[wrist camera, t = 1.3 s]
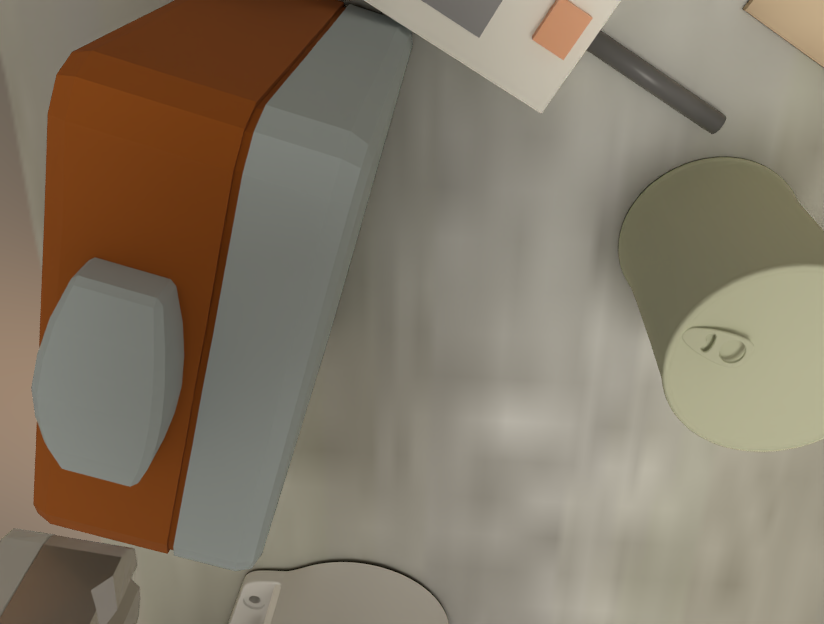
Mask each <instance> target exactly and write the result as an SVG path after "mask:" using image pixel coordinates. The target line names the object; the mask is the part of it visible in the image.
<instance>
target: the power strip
mask: <svg viewBox="0 0 824 624" xmlns="http://www.w3.org/2000/svg"><path fill="white" fill-rule="evenodd" d="M364 1H365V2H367V3H369V4H370V5H372V6H373V7H375V8H376V9H378V10H379V11H381V12H383V13H384V14H386V15H387V16H389V17H390V18H392V19H394V20H395V21H397V22H398V23H400V24H401V25H403V26H405V27H406V28H408V29H409V30H411V31H412V32H414V33H415V34H417V35H419V36H420V37H422V38H423V39H425V40H426V41H428V42H430V43H431V44H433V45H434V46H436V47H437V48H439V49H441V50H442V51H444V52H445V53H447V54H448V55H450V56H451V57H453V58H455V59H456V60H458V61H459V62H461V63H462V64H464V65H466V66H467V67H469V68H470V69H472V70H473V71H475V72H477V73H478V74H480V75H481V76H483V77H484V78H486V79H487V80H489V81H491V82H492V83H494V84H495V85H497V86H498V87H500V88H502V89H503V90H505V91H506V92H508V93H509V94H511V95H513V96H514V97H516V98H517V99H519V100H520V101H522V102H523V103H525V104H527V105H528V106H530V107H531V108H533V109H534V110H536V111H538V112H539V113H541V114H542V112H543V111H544V109H545V108H546V107H547V105H548V104H549V102H550V101H551V99H552V98H553V97H554V95H555V94H556V92H557V91H558V90H559V88H560V87H561V85H562V84H563V82H564V81H565V80H566V78H567V77H568V75H569V74H570V72H571V71H572V70H573V68H574V67H575V65H576V64H577V63H578V61H579V60H580V58H581V57H582V55H583V54H584V53H585V51H586V50H587V51H589V52H590V53H592V54H593V55H595V56H596V57H598V58H599V59H601V60H602V61H604V62H605V63H607V64H608V65H610V66H611V67H613V68H614V69H616V70H617V71H619V72H620V73H621V74H623V75H624V76H626V77H627V78H629V79H630V80H632V81H633V82H635V83H636V84H638V85H639V86H641V87H642V88H644V89H645V90H647V91H648V92H650V93H651V94H653V95H654V96H656V97H657V98H659V99H660V100H662V101H663V102H665V103H666V104H668V105H669V106H671V107H672V108H674V109H675V110H677V111H678V112H680V113H681V114H683V115H684V116H686V117H687V118H689V119H690V120H692V121H693V122H695V123H696V124H698V125H699V126H701V127H702V128H703V129H705V130H706V131H708V132H709V133H711V134H714V133H716V132H717V131H718V130H720V128H721V127H722V126H723V124H724V123H725V120H726V116H725V115H723V114H722V113H720V112H719V111H718V110H716V109H715V108H713V107H712V106H710V105H709V104H707V103H706V102H704V101H703V100H701V99H700V98H698V97H697V96H695V95H694V94H693V93H691V92H690V91H688V90H687V89H685V88H684V87H682V86H681V85H679V84H678V83H676V82H675V81H673V80H672V79H670V78H669V77H668V76H666V75H665V74H663V73H662V72H660V71H659V70H657V69H656V68H654V67H653V66H651V65H650V64H648V63H647V62H646V61H644V60H643V59H641V58H640V57H638V56H637V55H635V54H634V53H632V52H631V51H629V50H628V49H626V48H625V47H623V46H622V45H621V44H619V43H618V42H616V41H615V40H613V39H612V38H610V37H609V36H607V35H606V34H604V33H603V32H601V31H600V30H601V29H602V27H603V26H604V24H605V23H606V21H607V20H608V19H609V17H610V16H611V14H612V13H613V12H614V10H615V9H616V7H617V6H618V4H619V3H620V2H621V0H364Z"/></svg>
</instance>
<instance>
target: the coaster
mask: <svg viewBox="0 0 824 624" xmlns="http://www.w3.org/2000/svg"><path fill="white" fill-rule="evenodd" d="M743 10H745V11H746V12H748V13H749V14H750V15H752V16H753V17H754V18H756V19H757V20H759V21H760V22H761V23H763V24H764V25H766V26H767V27H768V28H770V29H771V30H772V31H774V32H775V33H777V34H778V35H779V36H781V37H782V38H783V39H785V40H786V41H788V42H789V43H790V44H792V45H793V46H795V47H796V48H797V49H799V50H800V51H801V52H803V53H804V54H806V55H807V56H808V57H810V58H811V59H813V60H814V61H815V62H817V63H818V64H819V65H821V66H822V67H824V0H749V1H748V3H747V4H746V5H745V6H744V8H743Z"/></svg>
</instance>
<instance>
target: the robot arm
mask: <svg viewBox="0 0 824 624" xmlns="http://www.w3.org/2000/svg"><path fill="white" fill-rule="evenodd" d="M136 567H137V560H136V554H135V549H134V548H128V547H122V546H116V545H110V544H104V543H99V542H93V541H87V540H81V539H75V538H69V537H63V536H57V535H54V534H47V533H41V532H34V531H27V530H21V529H13V530H11V531H10V532H9V533H8V534H7V535H6V536H4V537H3V538H2V539H1V540H0V624H136V623H137V620H138V616H139V607H140V589H139V586H138V585H137V584H136V583H135V582H134V581H133V580H132V579H131V578H132V576H133V573H134V571H135V569H136ZM228 624H449V622H448V619H447V616H446V613H445V611H444V609H443V608H442V606H441V605H440V603H439V602H438V601H437V599H436V598H435V597H434V596H433V595H432V594H431V593H430V592H429V591H427V590H426V589H425V588H424V587H422V586H421V585H419V584H418V583H416V582H415V581H413V580H411V579H410V578H408V577H406V576H404V575H401V574H399V573H397V572H394V571H391V570H388V569H385V568H382V567H378V566H374V565H369V564H363V563H354V562H331V563H322V564H316V565H312V566H308V567H304V568H301V569H297V570H292V571H253V572H250V573H248V574H247V575H246V576H245V578H244V580H243V583H242V586H241V589H240V591H239V594H238V597H237V600H236V602H235V605H234V608H233V611H232V614H231V616H230V619H229V622H228Z"/></svg>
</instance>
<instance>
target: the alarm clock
mask: <svg viewBox="0 0 824 624" xmlns="http://www.w3.org/2000/svg"><path fill="white" fill-rule="evenodd" d="M412 45H413V43H412V31H411V30H409V29H408V28H406V27H405V26H403V25H401V24H400V23H398V22H397V21H395V20H394V19H392V18H390V17H387V16H384V15H381V14H378V13H375V12H372V11H369V10H366V9H363V8H360V7H357V6H354V5H351V4H349V5H348V6H347V8H346V7H344V2H342V1H338V0H175V1H173V2H171V3H169V4H167V5H165V6H163V7H161V8H159V9H157V10H155V11H153V12H151V13H149V14H147V15H145V16H143V17H141V18H139V19H137V20H135V21H133V22H131V23H129V24H127V25H125V26H123V27H121V28H119V29H117V30H115V31H113V32H111V33H109V34H107V35H105V36H103V37H101V38H99V39H97V40H95V41H93V42H91V43H89V44H87V45H85V46H83V47H81V48H79V49H77V50H75V51H73V52H72V53H71V54H70V56H69V57H68V59H67V60H66V62H65V63H64V65H63V66H62V68H61V69H60V70H59V72H58V73H57V75H56V80H55V84H54V88H53V93H52V97H51V102H50V106H49V110H48V125H47V155H46V185H45V216H44V241H43V266H42V291H41V316H40V317H41V318H40V341H39V342H40V343H39V351H38V354H37V360H36V365H35V371H34V376H33V382H32V395H33V403H34V410H35V417H36V419H37V432H36V458H35V481H34V506H35V508H36V510H37V512H38V513H39V514H40V515H41V516H42V517H43V518H44V519H46V520H47V521H48V522H49V523H50V524H54V525H58V526H62V527H65V528H70V529H73V530H77V531H81V532H85V533H89V534H93V535H97V536H100V537H104V538H108V539H112V540H116V541H120V542H124V543H128V544H132V545H135V546H139V547H143V548H147V549H151V550H155V551H159V552H163V553H167V554H168V552H169V551H170V549H171V550H174V556H178V557H182V558H186V559H190V560H194V561H198V562H202V563H205V564H209V565H213V566H217V567H221V568H225V569H229V570H233V571H239V570H245V569H250V568H252V567H253V565H254V564H255V563H256V561H257V560H258V559H259V557H260V556H261V555H262V552H263V549H264V546H265V543H266V539H267V536H268V533H269V530H270V526H271V523H272V520H273V517H274V513H275V510H276V507H277V504H278V501H279V497H280V494H281V491H282V488H283V484H284V481H285V478H286V475H287V471H288V468H289V465H290V462H291V458H292V455H293V452H294V449H295V445H296V442H297V439H298V436H299V432H300V429H301V426H302V423H303V419H304V416H305V413H306V410H307V406H308V403H309V400H310V397H311V394H312V390H313V387H314V384H315V381H316V377H317V374H318V371H319V368H320V364H321V361H322V358H323V355H324V351H325V348H326V345H327V342H328V338H329V335H330V332H331V328H332V325H333V322H334V318H335V315H336V311H337V308H338V304H339V301H340V297H341V294H342V290H343V287H344V283H345V280H346V276H347V273H348V269H349V266H350V262H351V259H352V255H353V252H354V248H355V245H356V241H357V238H358V234H359V231H360V227H361V224H362V220H363V217H364V213H365V210H366V206H367V203H368V199H369V196H370V192H371V189H372V185H373V182H374V179H375V175H376V172H377V168H378V165H379V161H380V158H381V154H382V151H383V147H384V144H385V140H386V137H387V133H388V130H389V126H390V123H391V119H392V116H393V112H394V109H395V105H396V102H397V98H398V95H399V91H400V88H401V84H402V81H403V77H404V74H405V70H406V67H407V63H408V60H409V56H410V53H411V49H412Z"/></svg>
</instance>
